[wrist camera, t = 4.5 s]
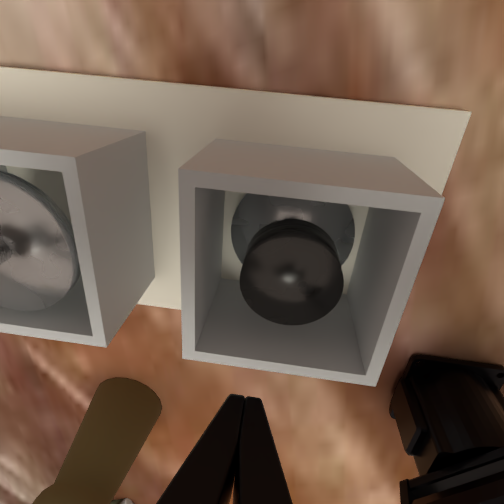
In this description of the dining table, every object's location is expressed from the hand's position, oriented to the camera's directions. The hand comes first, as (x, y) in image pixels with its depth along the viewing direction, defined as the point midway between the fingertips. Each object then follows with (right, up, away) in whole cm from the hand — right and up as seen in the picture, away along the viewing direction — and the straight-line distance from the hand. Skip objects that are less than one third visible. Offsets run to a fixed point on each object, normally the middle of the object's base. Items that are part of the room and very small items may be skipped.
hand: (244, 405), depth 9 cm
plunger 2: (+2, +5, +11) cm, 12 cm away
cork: (-11, -9, +21) cm, 26 cm away
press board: (-4, +7, +12) cm, 14 cm away
